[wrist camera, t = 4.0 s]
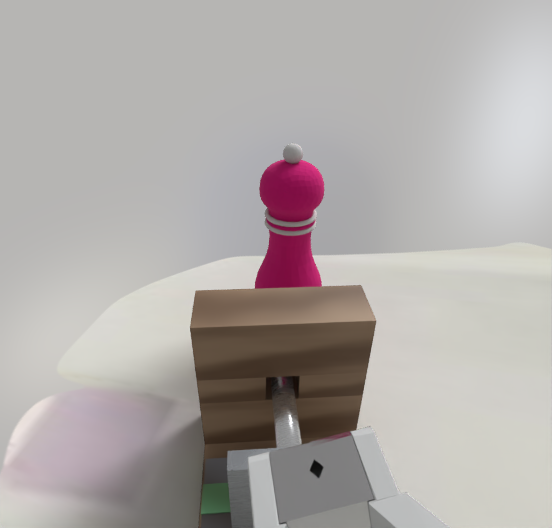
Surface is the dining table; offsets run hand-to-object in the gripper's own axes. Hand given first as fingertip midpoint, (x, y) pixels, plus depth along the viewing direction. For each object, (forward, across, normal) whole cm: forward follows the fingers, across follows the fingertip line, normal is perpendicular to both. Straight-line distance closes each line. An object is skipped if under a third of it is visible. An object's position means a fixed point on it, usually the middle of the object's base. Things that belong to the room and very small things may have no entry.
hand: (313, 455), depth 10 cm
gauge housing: (+12, -2, -21) cm, 24 cm away
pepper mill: (+31, +1, -21) cm, 37 cm away
